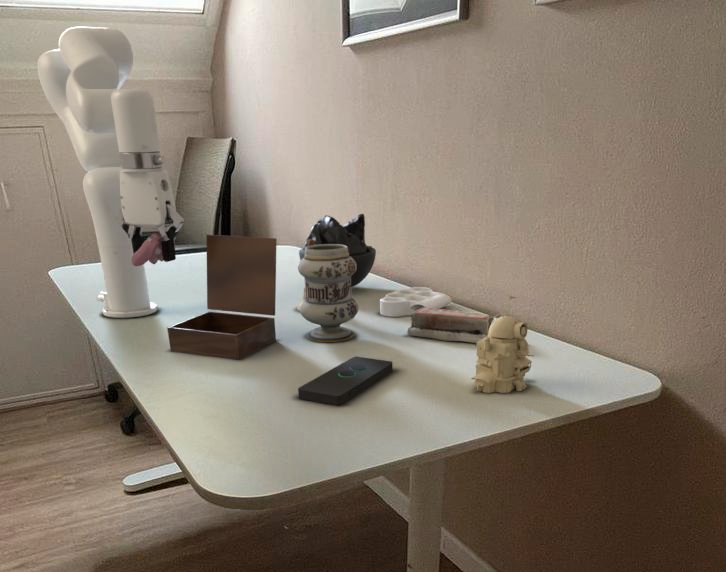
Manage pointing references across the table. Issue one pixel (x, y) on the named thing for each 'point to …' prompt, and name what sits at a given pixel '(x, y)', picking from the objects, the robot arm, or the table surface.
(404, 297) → the white lobed tray
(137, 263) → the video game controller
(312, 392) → the smart home device
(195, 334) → the box
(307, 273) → the apothecary jar
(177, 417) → the table surface
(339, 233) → the bowl of black rocks
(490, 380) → the robot
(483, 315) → the packaged product
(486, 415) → the table surface
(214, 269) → the box lid
